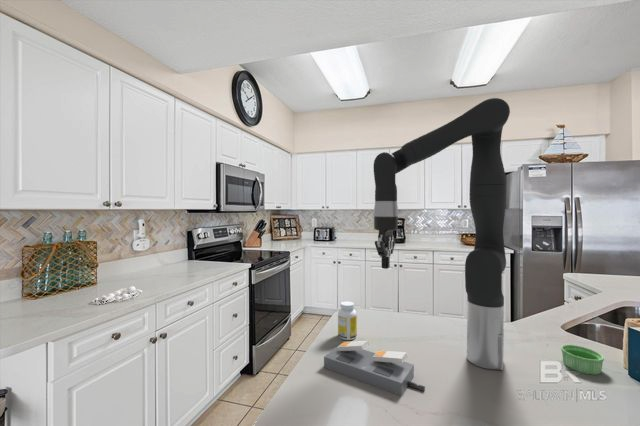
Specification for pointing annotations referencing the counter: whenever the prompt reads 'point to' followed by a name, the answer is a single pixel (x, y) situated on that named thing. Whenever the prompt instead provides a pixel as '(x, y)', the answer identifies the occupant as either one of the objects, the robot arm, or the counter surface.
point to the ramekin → (582, 359)
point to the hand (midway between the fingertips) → (385, 268)
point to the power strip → (372, 370)
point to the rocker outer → (353, 345)
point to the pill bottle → (347, 321)
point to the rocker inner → (390, 356)
